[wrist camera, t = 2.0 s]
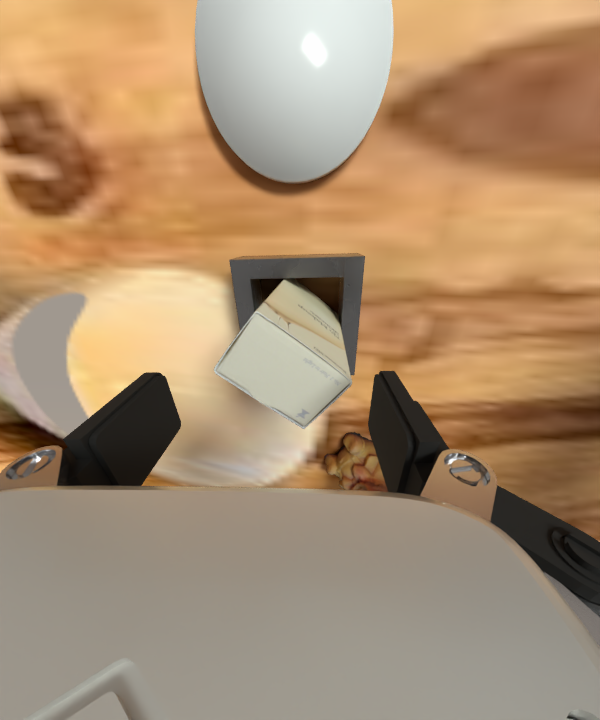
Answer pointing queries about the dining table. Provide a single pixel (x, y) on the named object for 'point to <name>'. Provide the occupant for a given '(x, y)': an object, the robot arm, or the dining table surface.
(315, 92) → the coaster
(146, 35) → the dining table surface
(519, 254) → the dining table surface
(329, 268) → the socket block
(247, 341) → the skincare box
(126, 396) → the robot arm
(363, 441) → the figurine
